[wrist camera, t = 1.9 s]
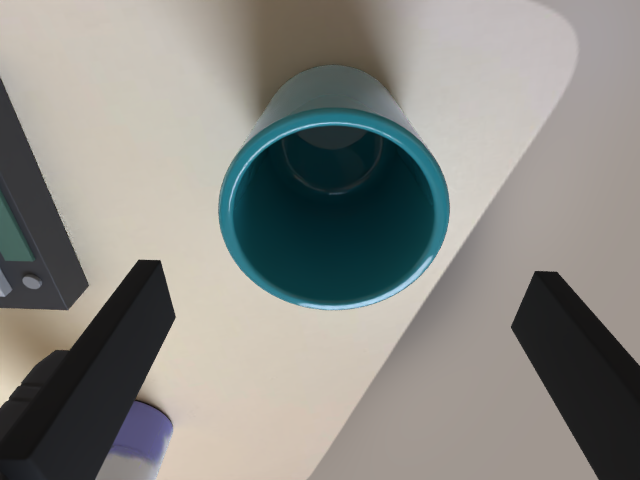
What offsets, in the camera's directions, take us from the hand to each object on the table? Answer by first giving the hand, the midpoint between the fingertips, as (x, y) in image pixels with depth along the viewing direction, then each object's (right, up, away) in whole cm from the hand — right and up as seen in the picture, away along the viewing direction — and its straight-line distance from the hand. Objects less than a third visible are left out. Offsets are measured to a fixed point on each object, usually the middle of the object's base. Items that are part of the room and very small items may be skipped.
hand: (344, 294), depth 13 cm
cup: (0, +8, +11) cm, 14 cm away
